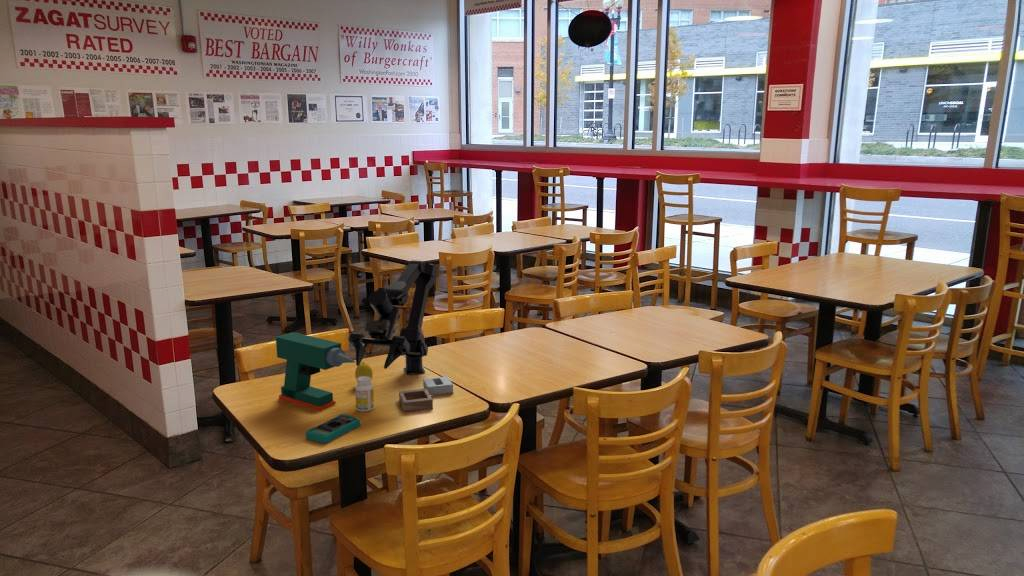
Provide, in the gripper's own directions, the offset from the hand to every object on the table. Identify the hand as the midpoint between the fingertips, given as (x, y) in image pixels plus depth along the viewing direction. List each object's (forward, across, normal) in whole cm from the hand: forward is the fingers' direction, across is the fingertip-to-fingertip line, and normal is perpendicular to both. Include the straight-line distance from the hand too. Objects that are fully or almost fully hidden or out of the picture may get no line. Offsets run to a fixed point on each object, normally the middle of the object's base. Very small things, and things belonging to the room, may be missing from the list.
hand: (371, 366), depth 217 cm
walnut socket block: (+6, +13, +10) cm, 18 cm away
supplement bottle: (+12, 0, +5) cm, 13 cm away
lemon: (-1, -10, +18) cm, 20 cm away
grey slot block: (-3, +15, +19) cm, 25 cm away
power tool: (+13, -14, +4) cm, 19 cm away
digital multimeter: (+25, 0, -7) cm, 26 cm away
